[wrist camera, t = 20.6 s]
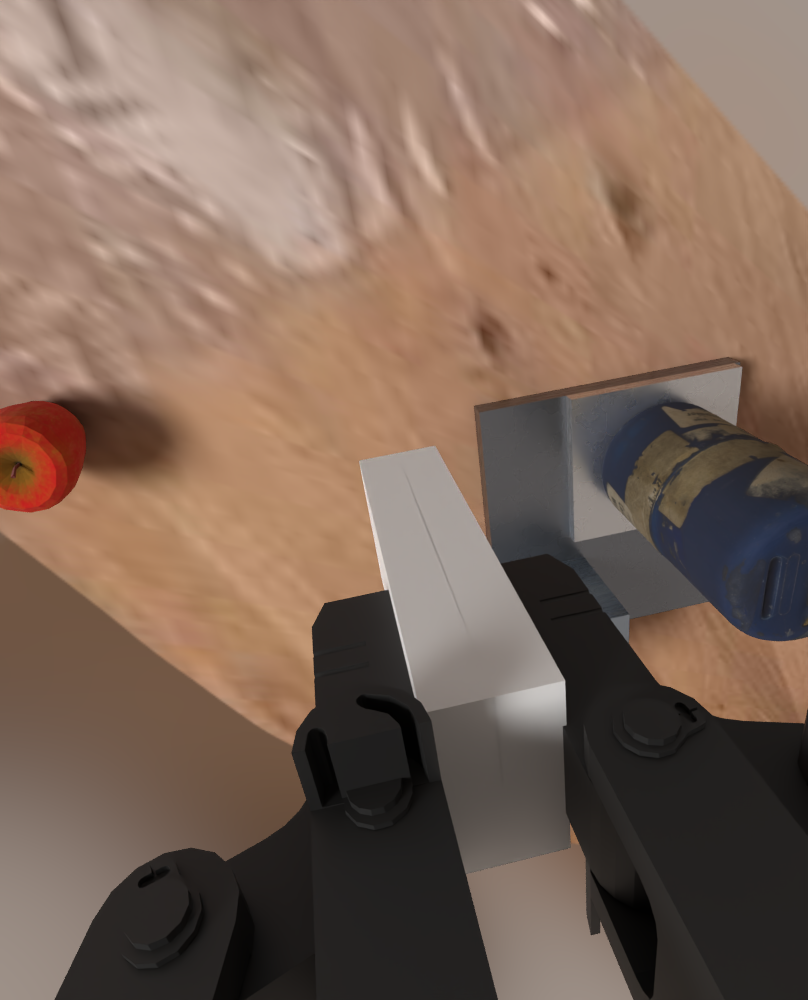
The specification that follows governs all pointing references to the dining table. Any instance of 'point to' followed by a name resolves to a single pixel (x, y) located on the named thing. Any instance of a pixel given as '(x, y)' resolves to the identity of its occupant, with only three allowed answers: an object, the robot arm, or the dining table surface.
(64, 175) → the dining table surface
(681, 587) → the grey l-shaped stand
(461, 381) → the dining table surface
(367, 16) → the dining table surface
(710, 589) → the canister
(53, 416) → the apple
